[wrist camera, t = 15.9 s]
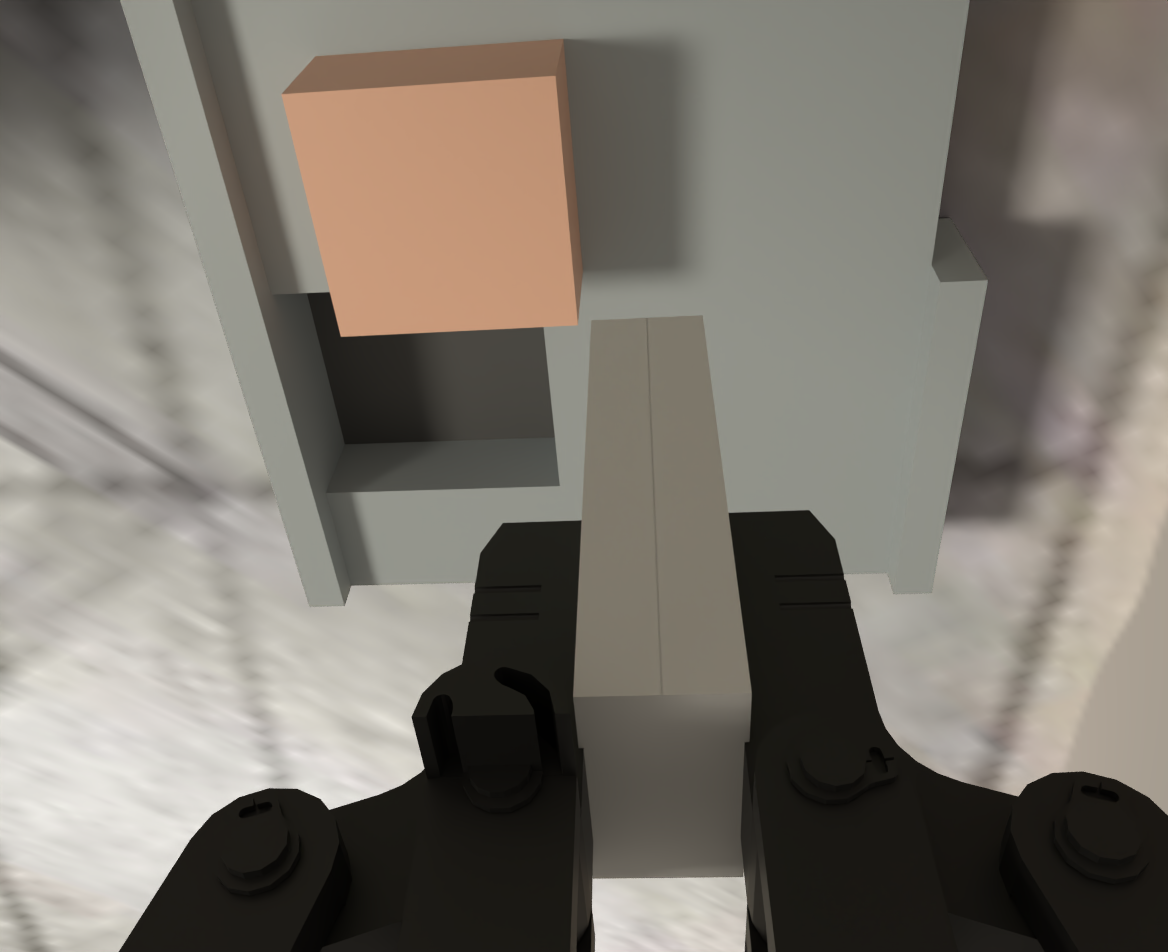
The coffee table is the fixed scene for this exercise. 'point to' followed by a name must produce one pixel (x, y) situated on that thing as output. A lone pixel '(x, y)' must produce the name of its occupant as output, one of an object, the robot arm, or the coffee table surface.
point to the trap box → (604, 270)
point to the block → (441, 186)
